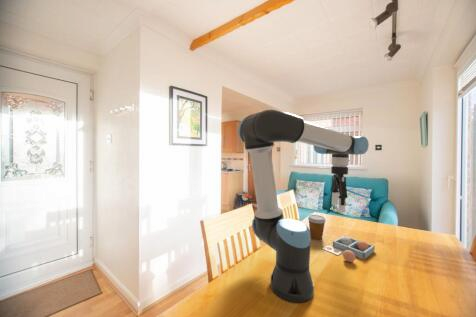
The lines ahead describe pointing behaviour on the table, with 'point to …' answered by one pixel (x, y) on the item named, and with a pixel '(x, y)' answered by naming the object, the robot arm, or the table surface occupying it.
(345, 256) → the terracotta ball
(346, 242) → the ball grey
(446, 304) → the table surface
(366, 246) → the terracotta ball
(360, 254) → the rack
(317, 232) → the disposable coffee cup
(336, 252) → the tile
